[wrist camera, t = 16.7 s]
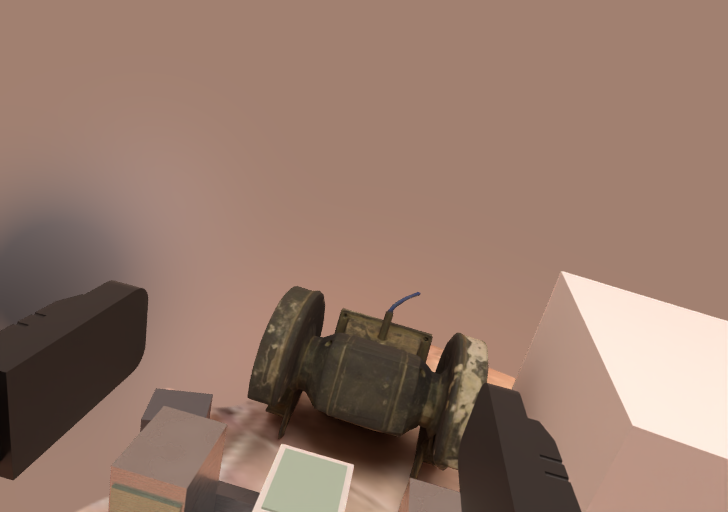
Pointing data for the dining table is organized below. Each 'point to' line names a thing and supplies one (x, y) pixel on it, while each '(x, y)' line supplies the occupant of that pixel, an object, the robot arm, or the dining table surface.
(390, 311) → the bench grinder
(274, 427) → the dining table surface
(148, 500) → the rail
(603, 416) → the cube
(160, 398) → the relay
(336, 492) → the block
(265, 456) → the dining table surface
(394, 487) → the dining table surface
